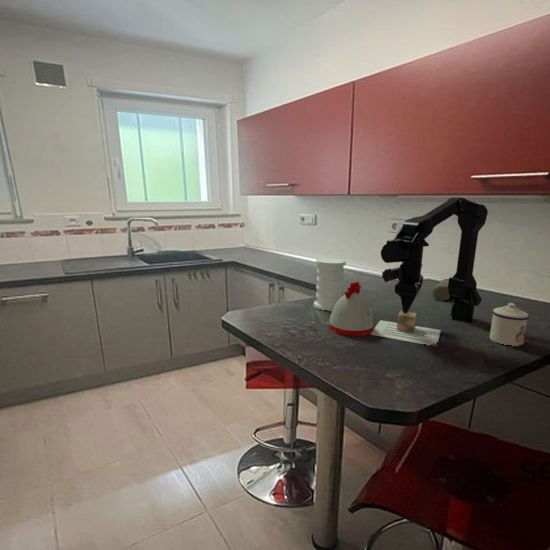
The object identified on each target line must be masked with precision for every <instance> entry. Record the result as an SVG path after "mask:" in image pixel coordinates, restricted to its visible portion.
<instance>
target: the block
mask: <svg viewBox="0 0 550 550" xmlns="http://www.w3.org/2000/svg"><path fill="white" fill-rule="evenodd" d="M417 316H418V314H417V312H410V311H408V312H407V313H403V310H400V311H399V313H398V314H397V318H396V319H397V322H396V323H397V330H400V331H406V332H412V333H413V332H414V329H415V326H417V325H416V324H417Z"/></svg>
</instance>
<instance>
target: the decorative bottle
mask: <svg viewBox="0 0 550 550" xmlns="http://www.w3.org/2000/svg"><path fill="white" fill-rule="evenodd" d="M448 283H449V278H444V279H441V280H440V281H439V282H438V283H437V284H436V286H435V287H434V288H433V289H432V290H431V295H432V297H433V299H435V300H437V301H439V302H440V301H441V302H443V301H447V300H450V297H449V293H448V289H447V287H448Z"/></svg>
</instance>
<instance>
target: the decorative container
mask: <svg viewBox="0 0 550 550" xmlns="http://www.w3.org/2000/svg"><path fill="white" fill-rule="evenodd" d="M315 262H316V265H317V269H316V273H317V277H316V286H315V289H316V294H315V297H316V300H315V301H314V302H313V307H314V308H315V309H316V308H318V309H317V310H319V309H321V310H320V311H323V310H327V311H326V312H332V311H331V310H332V306H335V304H336V303H337V301H338V300H339V299H340V298H341V297H342V296H343V289H344V286H343V283H344V275H345V274H344V273H345V270H344V266H346V260H344V259H340V258H334V257H333V258H331V257H326V258H318V259H316V261H315Z"/></svg>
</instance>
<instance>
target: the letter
mask: <svg viewBox="0 0 550 550" xmlns="http://www.w3.org/2000/svg"><path fill="white" fill-rule="evenodd" d="M441 330H442V329H436V328H430V327H424V326H419V325H418V326H417V325H415V329H414V332H413V333H412V332H406V331H400V330H397V322H393V321H387V320H383V319H382V320H379V321H378V323H377V324H376V326H375V327H373V332H372V333H370V334H369V335H371V336H375V337H381V338H382V337H383V338H386V339H387V338H388V339H392V340H397V341H403V342H408V343H413V344H414V343H415V344H418V345H419V344H420V345H424V344H426V346H430V345H431V344H433V343H434V344H436V343H437V342H438V343H439V340H440V339H439V338H440V335H441Z"/></svg>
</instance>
